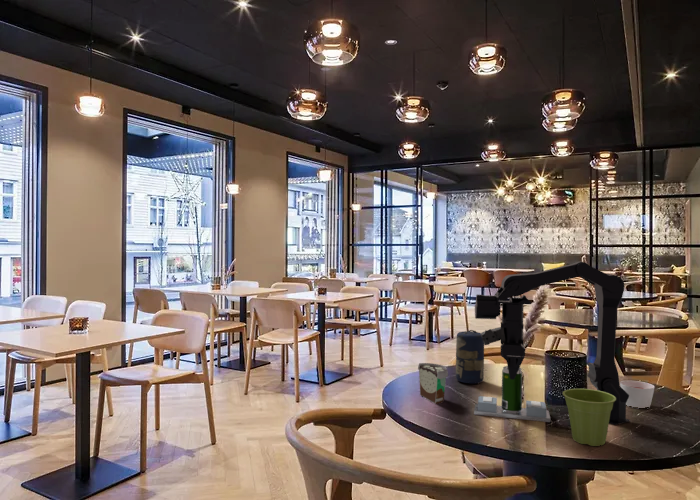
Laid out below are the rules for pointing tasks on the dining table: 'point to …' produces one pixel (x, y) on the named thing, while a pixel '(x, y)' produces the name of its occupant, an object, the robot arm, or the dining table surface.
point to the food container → (432, 381)
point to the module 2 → (535, 408)
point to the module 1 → (487, 404)
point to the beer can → (511, 391)
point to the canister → (469, 357)
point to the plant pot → (589, 414)
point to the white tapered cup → (638, 393)
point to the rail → (512, 414)
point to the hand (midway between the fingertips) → (511, 375)
